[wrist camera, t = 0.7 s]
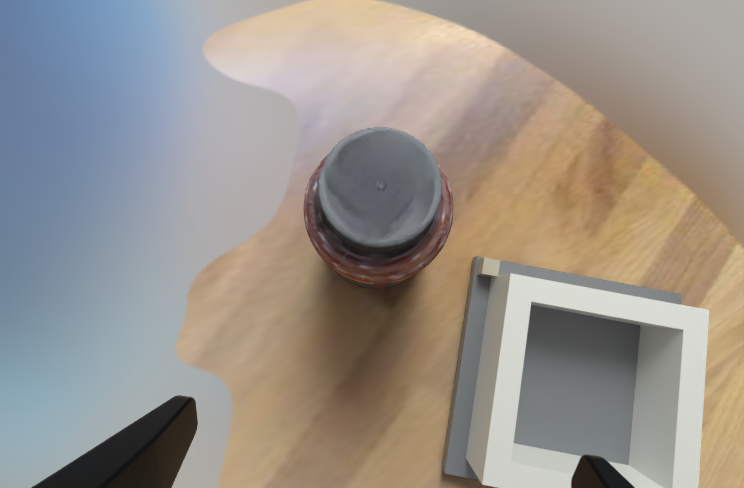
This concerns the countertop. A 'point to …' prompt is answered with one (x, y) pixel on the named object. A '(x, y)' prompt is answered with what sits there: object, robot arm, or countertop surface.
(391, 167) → the supplement bottle
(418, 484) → the countertop surface
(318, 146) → the countertop surface
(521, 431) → the socket holder
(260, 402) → the countertop surface
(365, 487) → the countertop surface
